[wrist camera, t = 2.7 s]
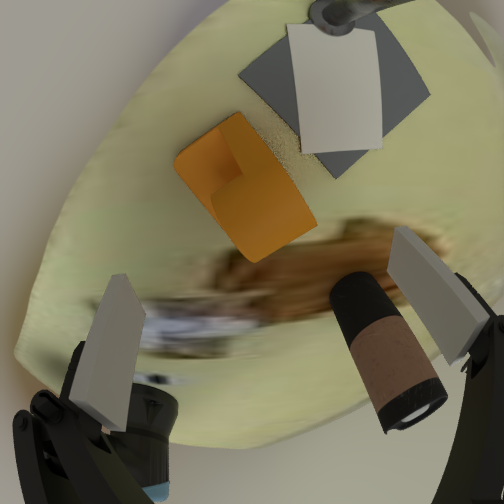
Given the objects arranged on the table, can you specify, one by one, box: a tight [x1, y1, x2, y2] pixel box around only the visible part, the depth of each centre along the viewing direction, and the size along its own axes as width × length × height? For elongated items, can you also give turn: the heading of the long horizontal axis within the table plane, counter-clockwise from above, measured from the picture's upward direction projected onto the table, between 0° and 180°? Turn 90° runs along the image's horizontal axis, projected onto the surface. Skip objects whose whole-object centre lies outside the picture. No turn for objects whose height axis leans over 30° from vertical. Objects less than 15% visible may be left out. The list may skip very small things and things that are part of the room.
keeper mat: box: [238, 12, 431, 179], centre depth 21 cm, size 16×17×1 cm
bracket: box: [174, 112, 317, 263], centre depth 21 cm, size 11×7×12 cm, turn 33°
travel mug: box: [330, 272, 448, 434], centre depth 27 cm, size 8×8×20 cm
